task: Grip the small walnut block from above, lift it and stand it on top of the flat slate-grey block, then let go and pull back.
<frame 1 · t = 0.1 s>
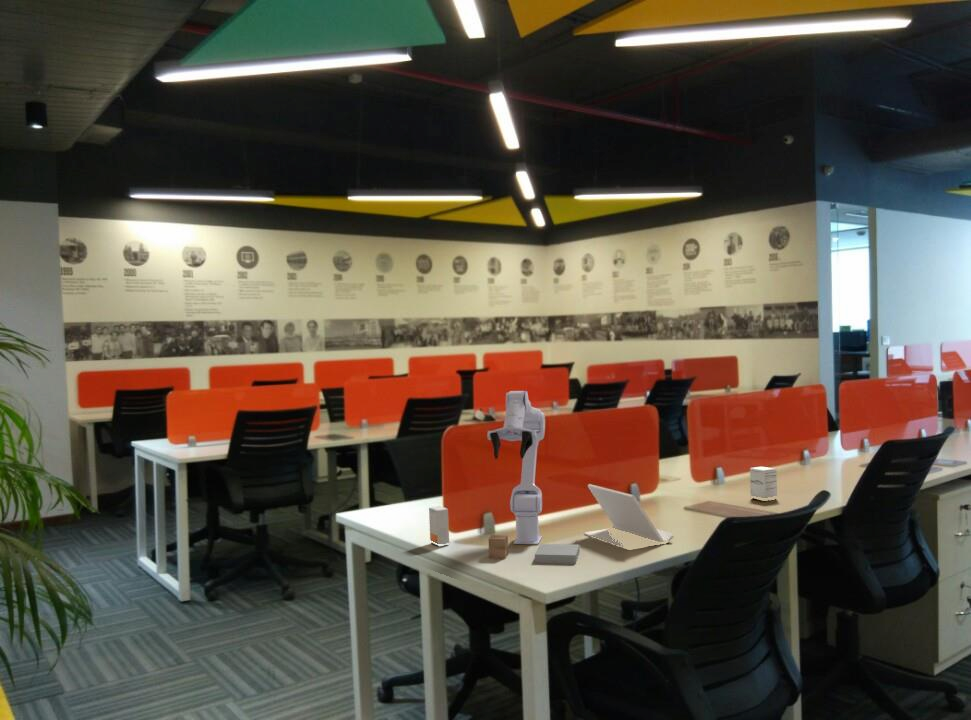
hand: (508, 456, 221), 32 cm above the table, tool tilted 50°, fingers open, 7 cm apart
skincare box: (439, 545, 249), on the table
walnut block: (498, 556, 232), on the table
tablet stand: (627, 539, 249), on the table
supplement box: (763, 500, 302), on the table
slate block: (557, 559, 229), on the table
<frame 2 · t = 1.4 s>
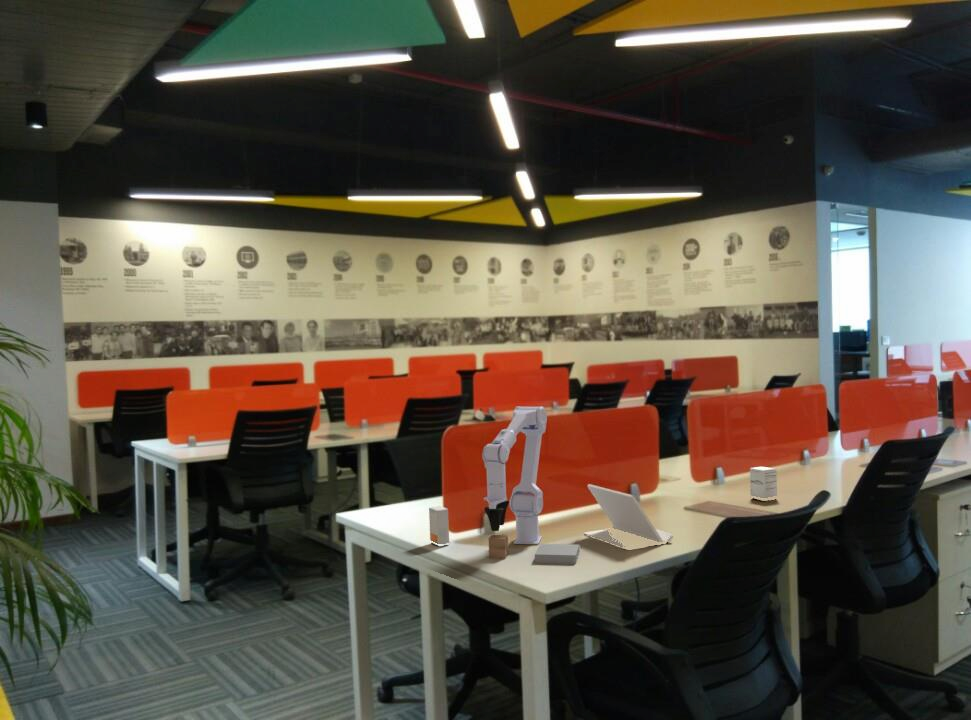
hand: (497, 527, 232), 9 cm above the table, tool pointing down, fingers open, 7 cm apart
nothing on the table moved.
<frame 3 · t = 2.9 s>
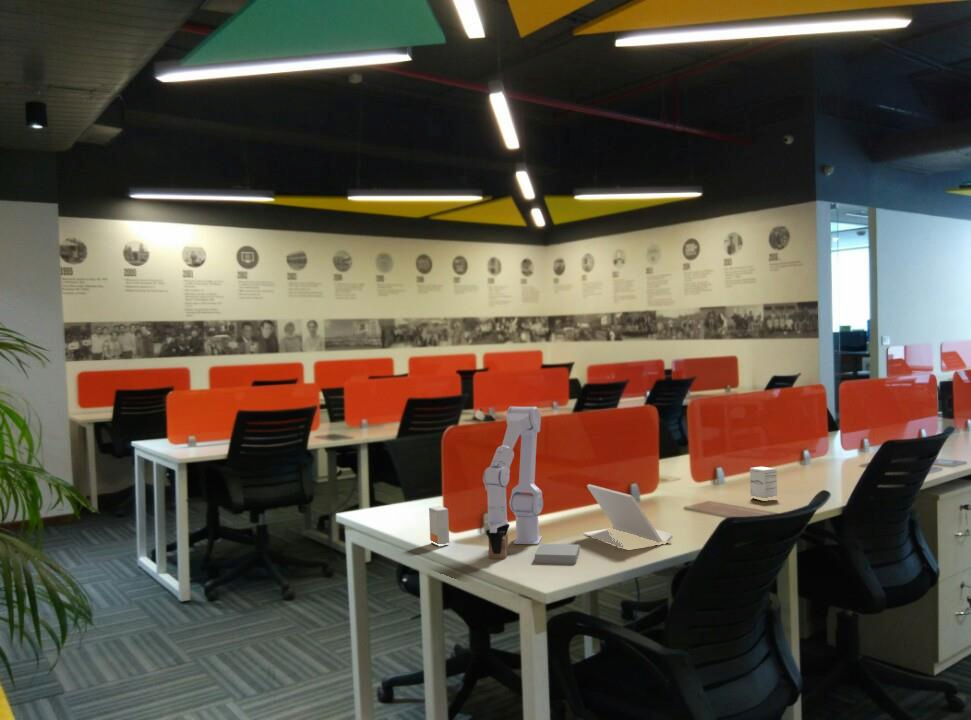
hand: (498, 550, 232), 2 cm above the table, tool pointing down, fingers closed on walnut block, 5 cm apart
walnut block: (498, 556, 232), on the table, touching gripper
everything else where it was.
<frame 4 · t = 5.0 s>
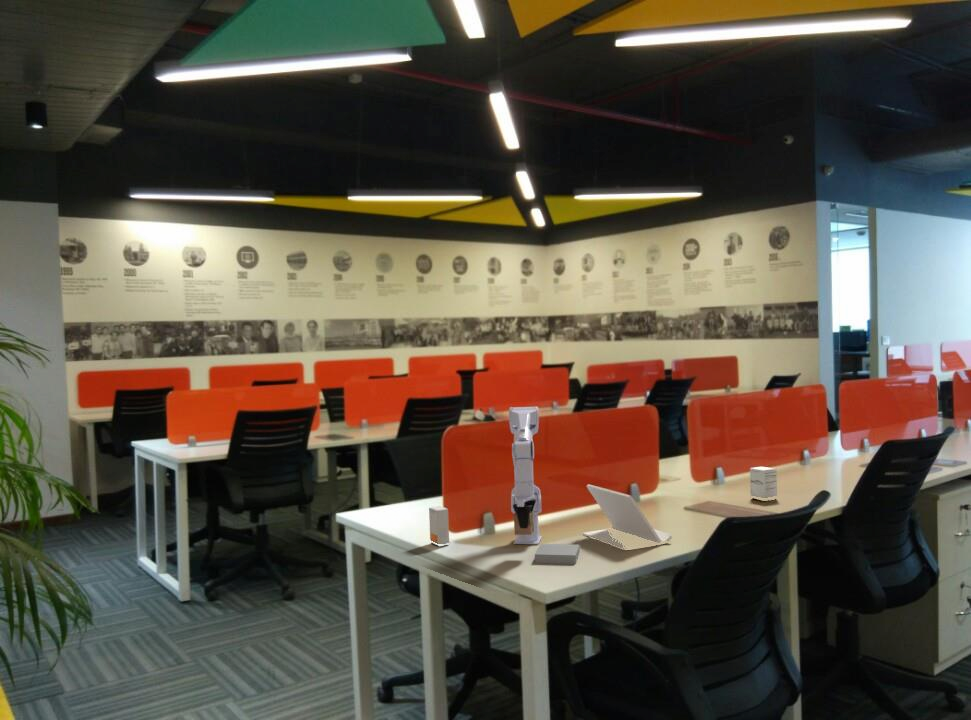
hand: (525, 525, 230), 9 cm above the table, tool pointing down, fingers closed on walnut block, 5 cm apart
walnut block: (524, 532, 231), point 7 cm above the table, touching gripper
everything else where it was.
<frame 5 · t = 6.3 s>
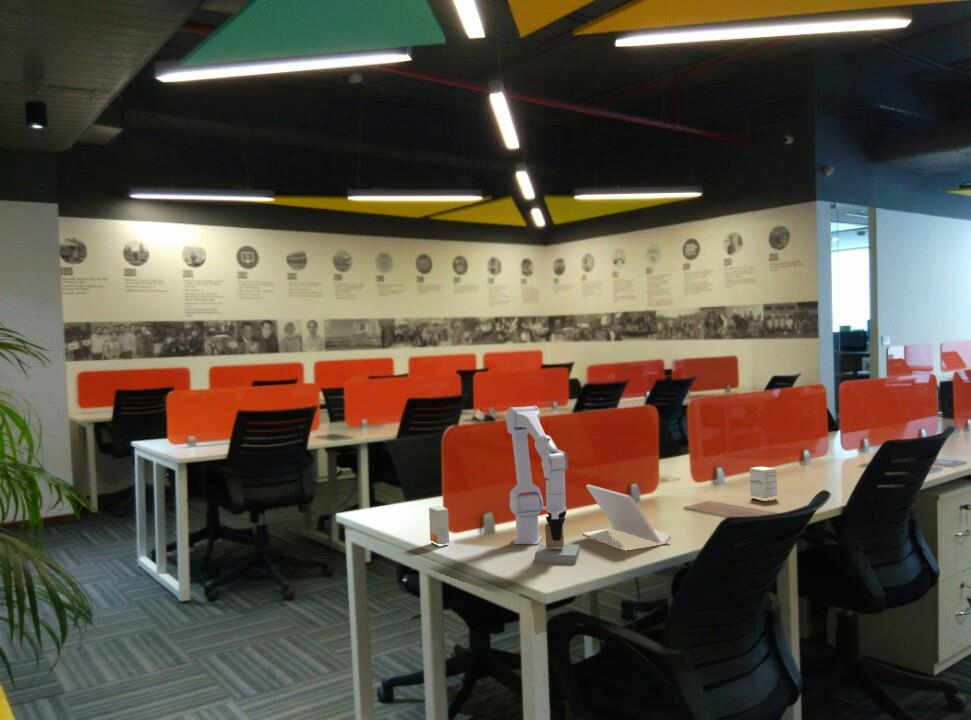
hand: (557, 538, 229), 6 cm above the table, tool pointing down, fingers closed on walnut block, 5 cm apart
walnut block: (555, 545, 229), point 4 cm above the table, touching gripper
everything else where it was.
when the fingers open (6 cm above the table, at t = 7.1 s): walnut block drops 1 cm, resting on slate block.
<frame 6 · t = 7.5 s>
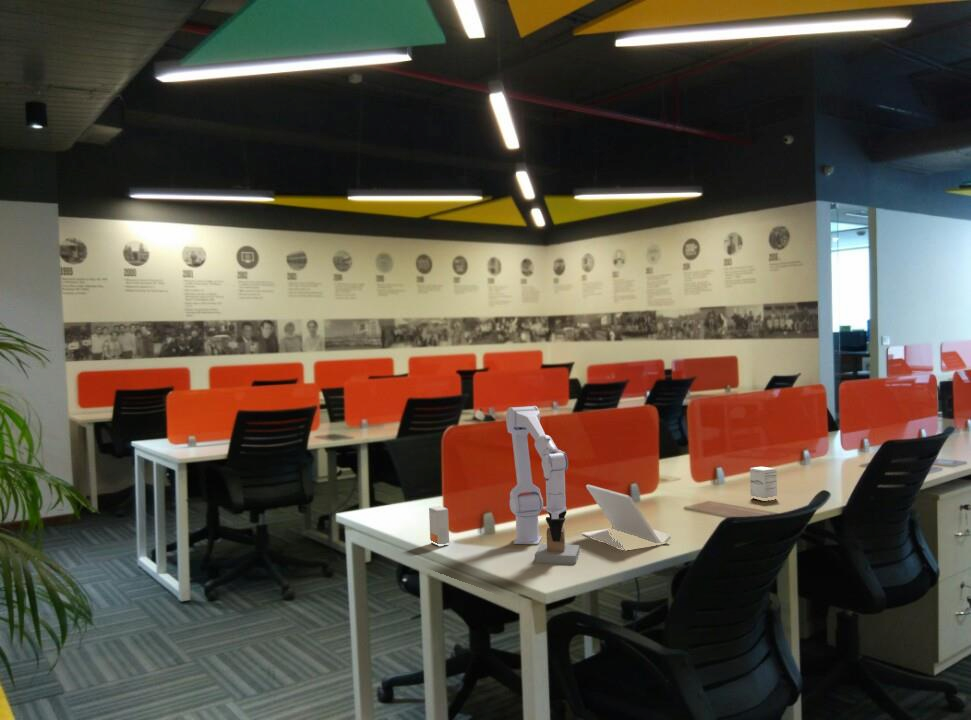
hand: (557, 538, 229), 6 cm above the table, tool pointing down, fingers open, 7 cm apart
walnut block: (556, 549, 229), point 2 cm above the table, touching slate block
slate block: (557, 559, 229), on the table, touching walnut block
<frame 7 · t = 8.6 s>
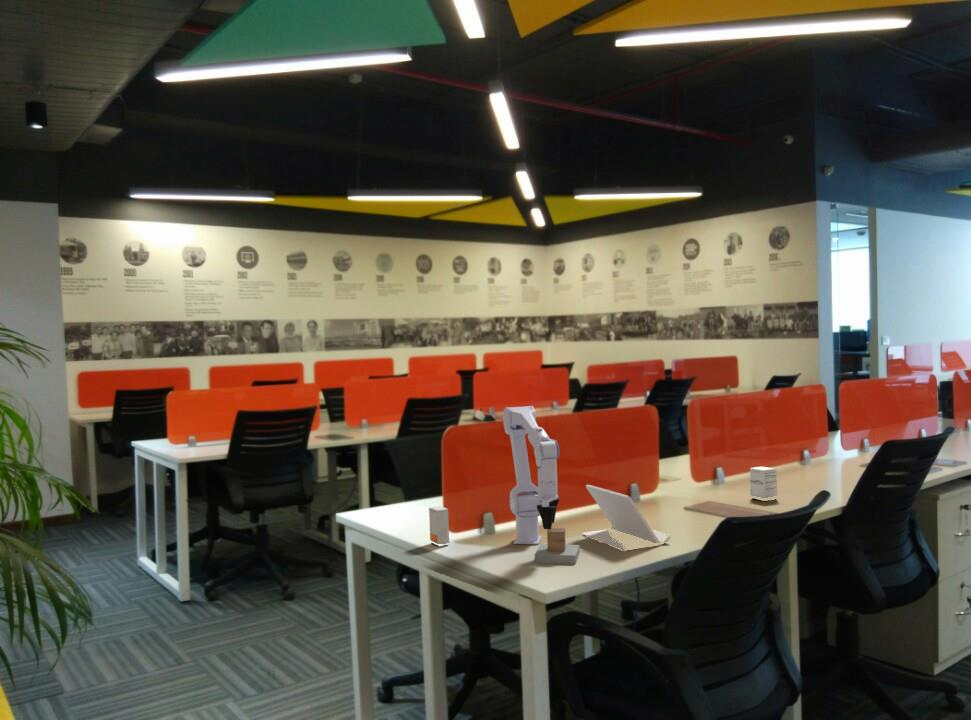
hand: (549, 525, 230), 9 cm above the table, tool pointing down, fingers open, 7 cm apart
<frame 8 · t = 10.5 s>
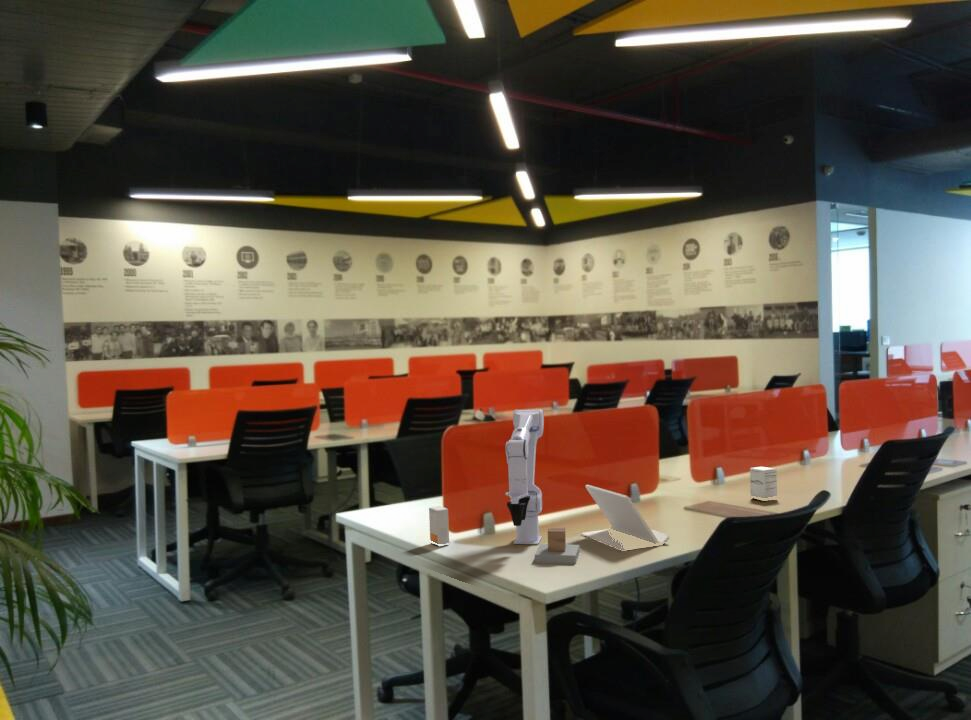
hand: (519, 522, 235), 9 cm above the table, tool pointing down, fingers open, 7 cm apart
walnut block: (557, 549, 229), point 2 cm above the table
slate block: (557, 559, 229), on the table
at the end: walnut block inside the target area on the slate block (0.3 cm from its centre), point 3.0 cm above the slate block's base; walnut block tilted 0°; the gripper is holding nothing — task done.
